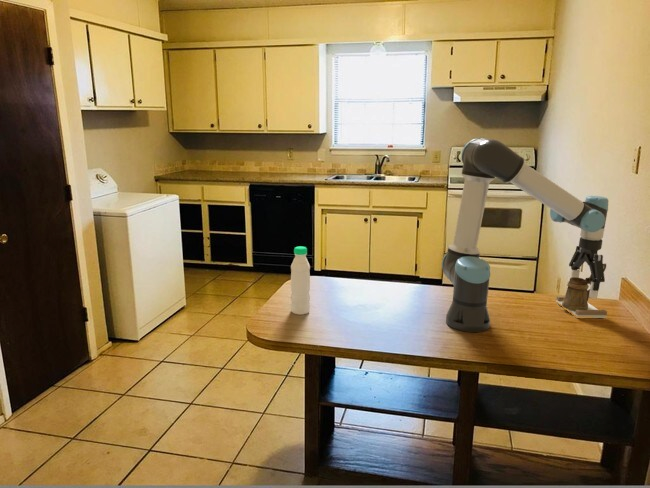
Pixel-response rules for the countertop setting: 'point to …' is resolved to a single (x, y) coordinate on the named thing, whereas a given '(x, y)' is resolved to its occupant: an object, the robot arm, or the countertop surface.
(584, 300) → the wooden mug
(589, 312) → the ledge board
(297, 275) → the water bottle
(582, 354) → the countertop surface
